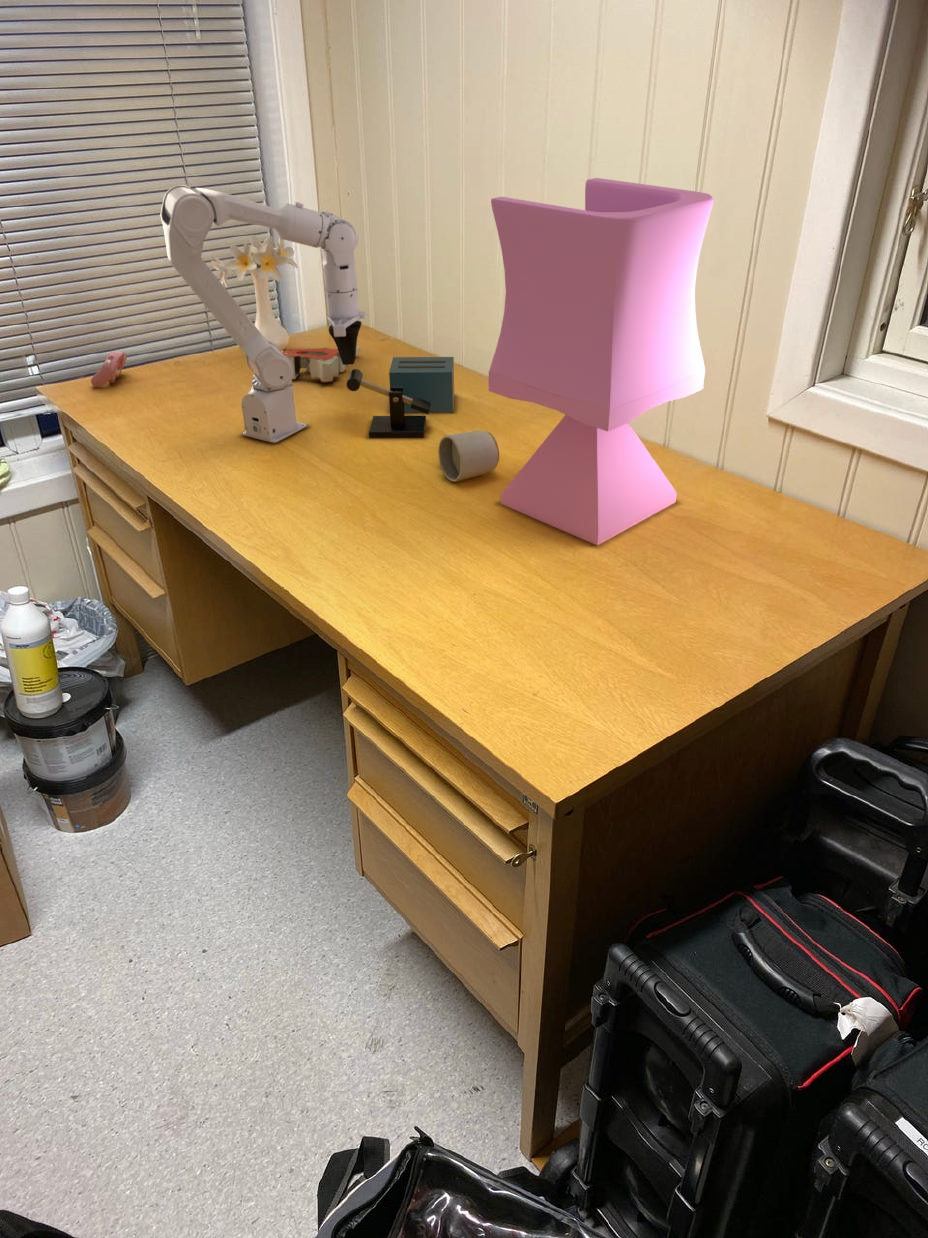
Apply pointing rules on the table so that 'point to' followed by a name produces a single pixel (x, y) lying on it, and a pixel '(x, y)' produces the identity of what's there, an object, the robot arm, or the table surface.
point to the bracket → (397, 420)
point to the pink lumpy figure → (110, 369)
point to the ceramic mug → (468, 454)
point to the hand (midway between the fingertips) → (348, 363)
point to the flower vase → (260, 280)
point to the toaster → (425, 380)
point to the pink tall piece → (598, 344)
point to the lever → (384, 391)
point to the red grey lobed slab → (317, 362)
